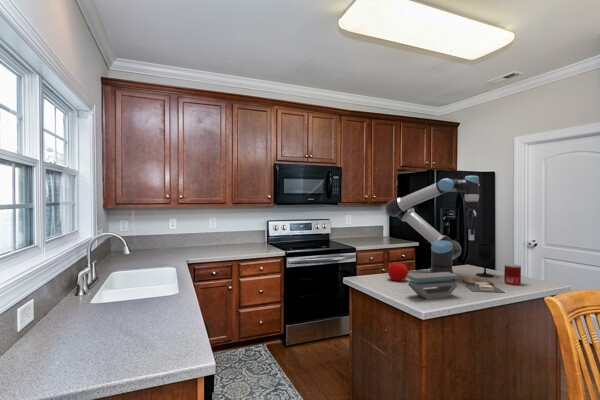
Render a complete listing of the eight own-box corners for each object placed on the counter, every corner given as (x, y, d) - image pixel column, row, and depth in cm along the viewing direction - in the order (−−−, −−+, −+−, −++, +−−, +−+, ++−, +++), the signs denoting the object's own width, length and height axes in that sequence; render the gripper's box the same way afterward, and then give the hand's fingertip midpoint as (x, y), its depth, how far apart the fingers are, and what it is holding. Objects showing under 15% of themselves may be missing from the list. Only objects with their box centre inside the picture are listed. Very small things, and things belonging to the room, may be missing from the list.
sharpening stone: (447, 292, 171) (447, 271, 170) (458, 296, 163) (458, 275, 163) (406, 296, 164) (406, 274, 164) (415, 300, 156) (416, 278, 156)
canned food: (523, 286, 183) (523, 266, 183) (507, 285, 185) (507, 266, 185) (517, 282, 191) (517, 263, 191) (502, 281, 193) (502, 263, 192)
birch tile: (493, 290, 172) (493, 287, 172) (481, 290, 173) (481, 286, 173) (486, 286, 181) (486, 282, 181) (475, 285, 182) (475, 282, 182)
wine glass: (474, 276, 206) (475, 244, 206) (476, 273, 214) (477, 243, 214) (493, 278, 200) (494, 246, 200) (495, 275, 208) (495, 244, 208)
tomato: (384, 278, 199) (384, 260, 199) (400, 277, 202) (400, 259, 202) (395, 283, 188) (395, 264, 188) (412, 282, 191) (412, 263, 191)
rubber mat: (472, 291, 172) (472, 290, 172) (465, 285, 183) (465, 285, 183) (504, 292, 170) (504, 292, 170) (495, 287, 181) (495, 286, 181)
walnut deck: (467, 285, 183) (467, 282, 183) (461, 281, 193) (461, 278, 193) (493, 287, 181) (493, 283, 181) (486, 282, 191) (486, 279, 191)
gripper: (482, 201, 189) (482, 241, 189) (474, 201, 201) (473, 238, 202) (468, 201, 190) (468, 241, 190) (461, 201, 203) (461, 238, 203)
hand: (471, 239), depth 196 cm, fingers closed
